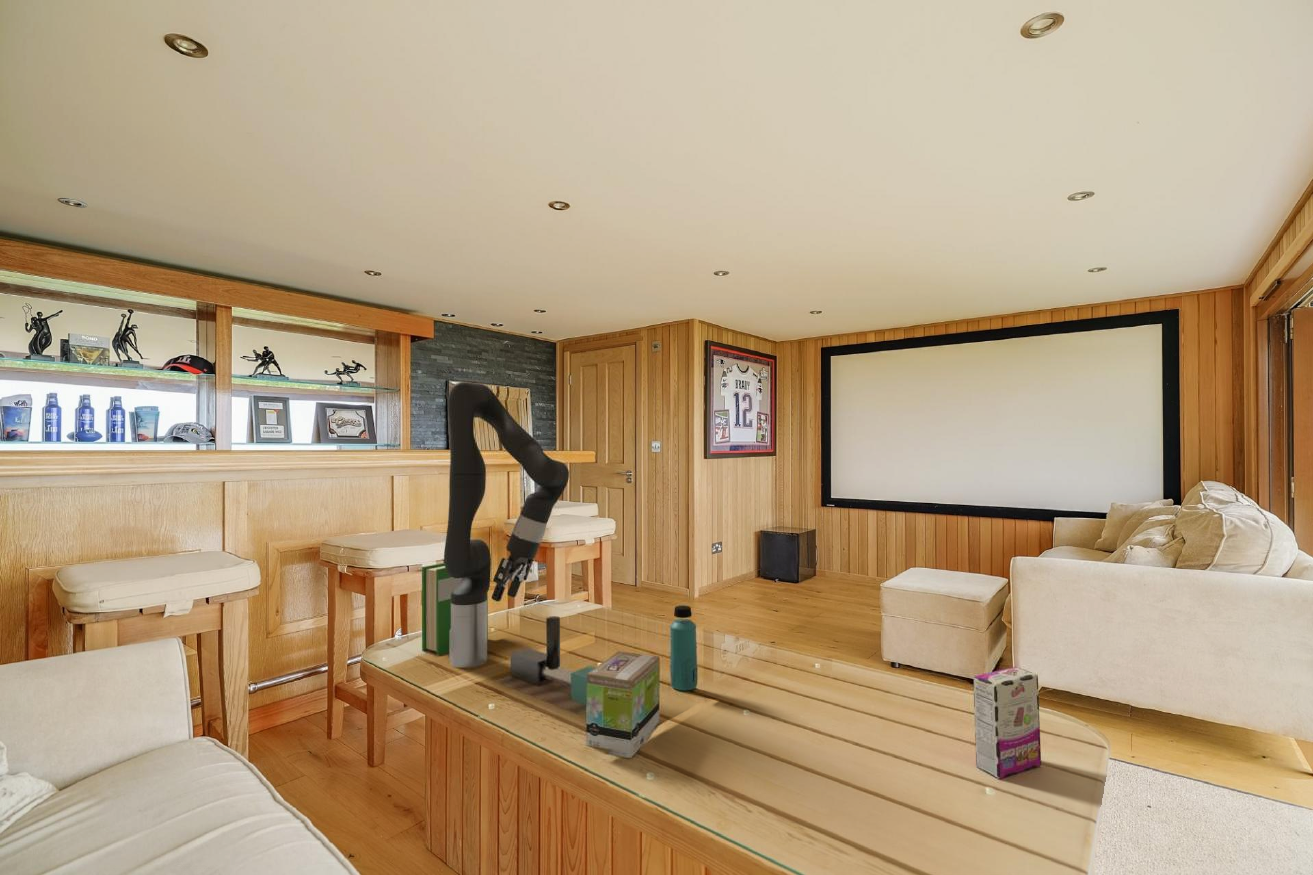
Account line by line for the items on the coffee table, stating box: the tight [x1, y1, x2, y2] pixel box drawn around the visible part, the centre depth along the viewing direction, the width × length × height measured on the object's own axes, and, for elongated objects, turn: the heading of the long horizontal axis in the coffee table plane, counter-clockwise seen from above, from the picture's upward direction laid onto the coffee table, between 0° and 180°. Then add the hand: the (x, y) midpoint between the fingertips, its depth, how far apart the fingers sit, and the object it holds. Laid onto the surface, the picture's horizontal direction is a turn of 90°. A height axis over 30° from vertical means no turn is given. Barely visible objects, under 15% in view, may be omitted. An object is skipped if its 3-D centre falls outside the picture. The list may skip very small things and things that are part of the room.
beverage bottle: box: [669, 605, 699, 691], centre depth 147 cm, size 6×7×20 cm
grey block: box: [509, 647, 551, 687], centre depth 153 cm, size 10×5×6 cm, turn 50°
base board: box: [494, 675, 587, 715], centre depth 147 cm, size 30×14×1 cm, turn 50°
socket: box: [571, 665, 597, 706], centre depth 140 cm, size 7×6×6 cm
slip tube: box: [540, 615, 574, 687], centre depth 149 cm, size 20×3×15 cm, turn 50°
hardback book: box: [421, 562, 489, 656], centre depth 183 cm, size 18×7×24 cm, turn 146°
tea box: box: [585, 650, 661, 759], centre depth 123 cm, size 15×10×15 cm, turn 160°
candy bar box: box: [972, 666, 1042, 780], centre depth 111 cm, size 11×5×16 cm, turn 114°
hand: (503, 598), depth 153 cm, fingers open, 8 cm apart
